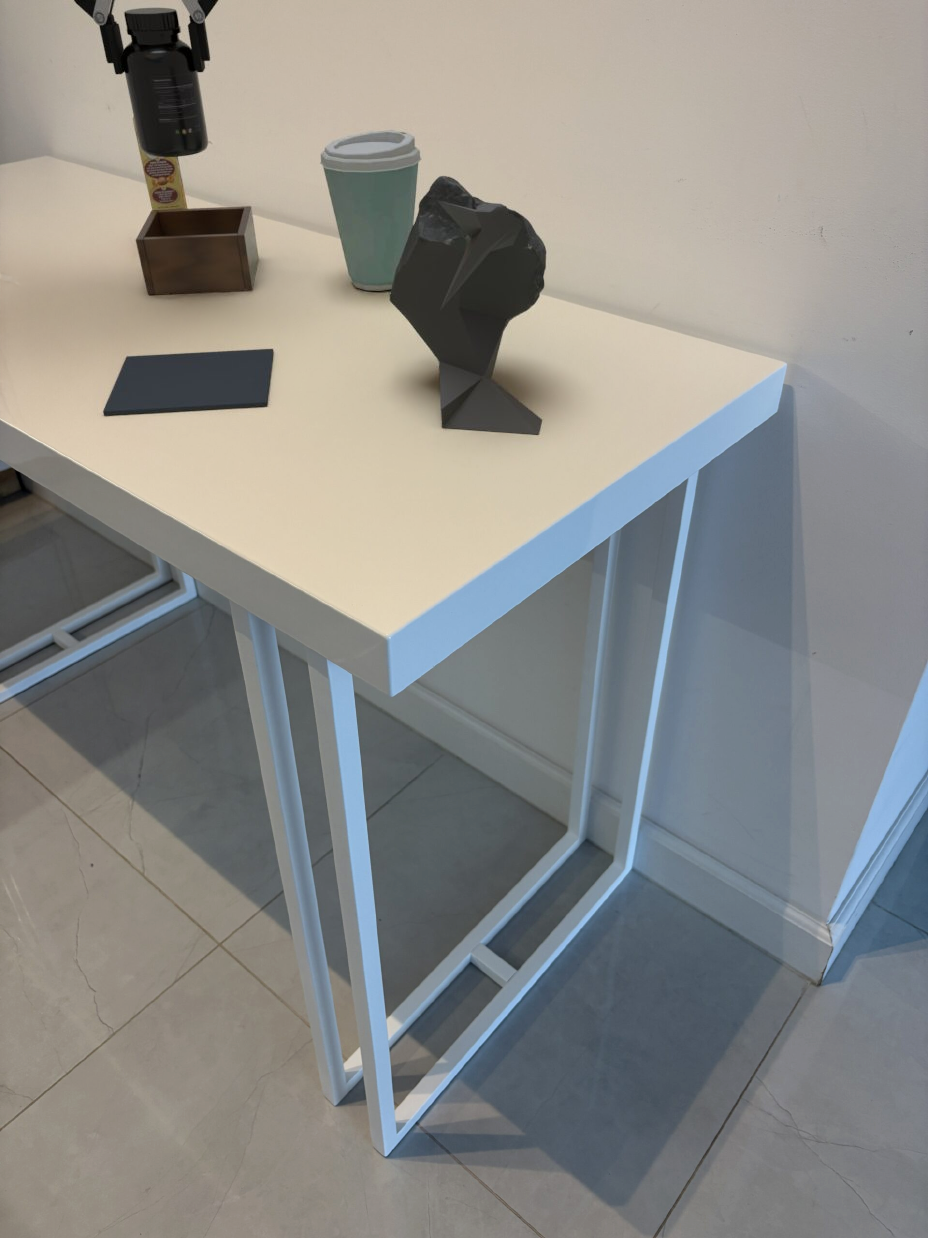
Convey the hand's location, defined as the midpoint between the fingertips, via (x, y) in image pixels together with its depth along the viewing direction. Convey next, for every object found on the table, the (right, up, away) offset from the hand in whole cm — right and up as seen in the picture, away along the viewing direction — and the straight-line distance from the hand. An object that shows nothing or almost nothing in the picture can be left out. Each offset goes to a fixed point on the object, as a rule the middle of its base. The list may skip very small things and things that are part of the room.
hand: (160, 69), depth 90 cm
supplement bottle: (0, -6, +5) cm, 7 cm away
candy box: (-7, -6, +29) cm, 30 cm away
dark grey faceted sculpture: (+30, -33, -6) cm, 45 cm away
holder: (-1, -13, +19) cm, 23 cm away
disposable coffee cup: (+20, -15, +17) cm, 30 cm away
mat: (+4, -31, -4) cm, 32 cm away
